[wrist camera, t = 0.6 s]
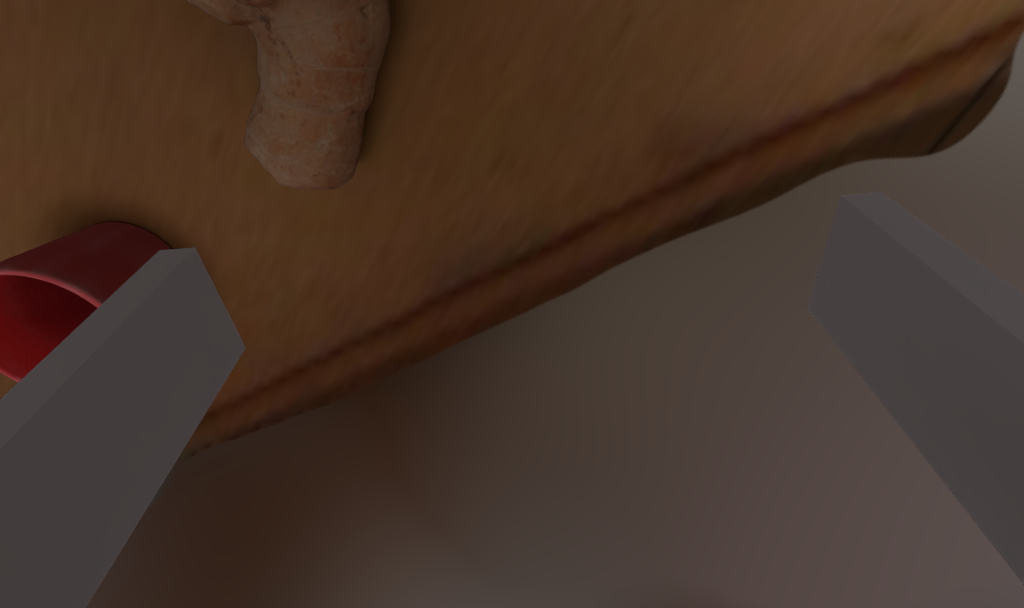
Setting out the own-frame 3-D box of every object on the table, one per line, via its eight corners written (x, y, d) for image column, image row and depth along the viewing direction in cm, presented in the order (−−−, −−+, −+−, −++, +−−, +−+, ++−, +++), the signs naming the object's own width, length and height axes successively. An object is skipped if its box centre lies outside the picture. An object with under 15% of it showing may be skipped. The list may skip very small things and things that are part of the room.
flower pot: (34, 191, 38) (-90, 260, 30) (192, 212, 39) (111, 284, 31) (82, 308, 44) (-12, 391, 36) (217, 324, 45) (154, 407, 37)
